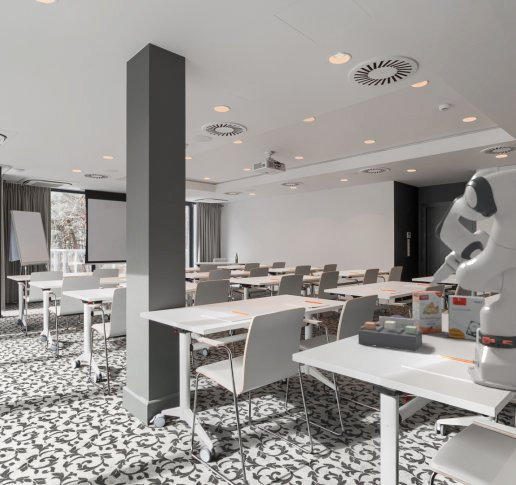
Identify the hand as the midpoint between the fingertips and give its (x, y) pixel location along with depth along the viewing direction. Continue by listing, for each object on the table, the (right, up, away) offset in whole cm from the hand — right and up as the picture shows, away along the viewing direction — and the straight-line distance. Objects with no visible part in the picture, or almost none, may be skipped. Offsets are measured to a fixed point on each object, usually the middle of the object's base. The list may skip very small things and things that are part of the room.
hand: (431, 285), depth 165 cm
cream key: (-15, -20, +9) cm, 26 cm away
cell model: (-4, -28, +28) cm, 40 cm away
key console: (-13, -28, +11) cm, 33 cm away
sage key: (-7, -21, +4) cm, 23 cm away
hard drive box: (+26, -28, +21) cm, 44 cm away
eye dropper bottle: (+24, -27, +3) cm, 37 cm away
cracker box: (+13, -28, +34) cm, 46 cm away
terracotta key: (-22, -21, +14) cm, 34 cm away
